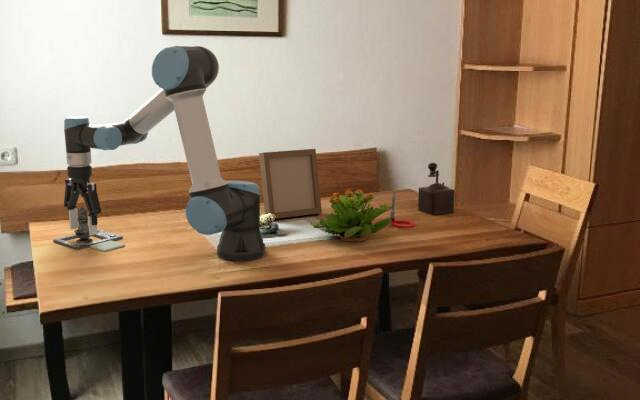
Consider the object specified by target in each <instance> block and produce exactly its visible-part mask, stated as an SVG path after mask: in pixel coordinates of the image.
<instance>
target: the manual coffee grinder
mask: <svg viewBox="0 0 640 400" xmlns="http://www.w3.org/2000/svg"><path fill="white" fill-rule="evenodd" d="M427 168H428V170H429V174H428V175H427V177H428V178H435V182H434V183H432V184H430V185H428V186H422V187H418V198H417V199H418V201H417V203H418V205H417V206H418V208H417V209H418V211H420V212H422V213H423V214H424V213H425V214H428V215H430V216H442V215H443V216H444V215H448V214H454V213H455V211H454V209H455V193H456V192H455V191H456V190H455V189H452V188H450V187H449V186H448V185H445V182H442V183H440V182H439V176H440V172H439V169H437V168H438V164H437V163H435V162H430V163H428V165H427Z"/></svg>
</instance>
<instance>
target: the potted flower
mask: <svg viewBox="0 0 640 400" xmlns="http://www.w3.org/2000/svg"><path fill="white" fill-rule="evenodd" d="M352 191H353V189H349V188H348V189H347V190H346V191H345V192H344V193H345V195H342V194H340V193H339V192H334V193H333V195H332V196H329V201H328V202H329V203H330V208H332V211H331V213H330V214H329V213H328V214H327V215H326V216H325V219H319V222H317V223H316V224H314V223H313V222H312V221H310V222H309V224H311V226H312V228H314V229H319V230H320V231H324V232H325V233H327V234H330V235H333V236H339V239H340V240H342V241H345V242H353V243H354V242H355V243H356V242H357V243H359V242H364V241H366V240H367V239H368V237H369V236H370V235H371V234H375V233H378V232H380V231H381V230H383V229H384V228H386V227H387V226H388V224H389V223H390V222H391V220H392V219H391V218H390V217H388V218H383V219H381V220H379V221H378V222H375V223H374V224H373V223H372V222H373V221H374V220H375V219H377V218H378V217H380V216H381V215H382V214H384V213H386V212H388V211H391V209H392V207H393V206H392V205H391V206H390V205H387V204H380V205H379V208H378V207H373V206H372V205H371V203H370V202H371V201H372V200H374V199H375V195H374V193H372V192H369V193H367V194H365V195H364V192H363V190H362V189H357V190H355V191H354V192H352ZM354 194H355V196H354Z"/></svg>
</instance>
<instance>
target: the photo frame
mask: <svg viewBox="0 0 640 400" xmlns="http://www.w3.org/2000/svg"><path fill="white" fill-rule="evenodd" d="M316 153H317V152H316V148H308V149H305V148H304V149H291V150H282V151H281V150H279V151H267V152H260V153H258V160H259V169H260V179H261V189H262V198H263V207H264V215H265V214H268V213H271V214H274V215H275V216H276V220H277V219H282V218H283V219H285V218H292V217H293V218H294V217H299V216H306V215H316V214H323V210H322V203H321V202H322V201H321V199H322V198H321V189H320V180H319V171H318V160H317V154H316Z"/></svg>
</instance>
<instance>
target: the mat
mask: <svg viewBox="0 0 640 400" xmlns="http://www.w3.org/2000/svg"><path fill="white" fill-rule="evenodd" d="M122 247H126V244H124V243H121V242H117V241H116V240H114V241H111V240H110V241H106V242H102V243H98V244H94V245H91V246H90V247H89V248H92V249H95V250H98V251H100V252H103V253H105V252H108V251H112V250H117V249H119V248H122Z"/></svg>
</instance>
